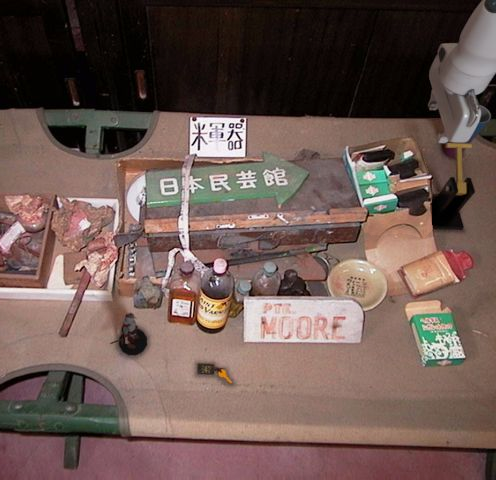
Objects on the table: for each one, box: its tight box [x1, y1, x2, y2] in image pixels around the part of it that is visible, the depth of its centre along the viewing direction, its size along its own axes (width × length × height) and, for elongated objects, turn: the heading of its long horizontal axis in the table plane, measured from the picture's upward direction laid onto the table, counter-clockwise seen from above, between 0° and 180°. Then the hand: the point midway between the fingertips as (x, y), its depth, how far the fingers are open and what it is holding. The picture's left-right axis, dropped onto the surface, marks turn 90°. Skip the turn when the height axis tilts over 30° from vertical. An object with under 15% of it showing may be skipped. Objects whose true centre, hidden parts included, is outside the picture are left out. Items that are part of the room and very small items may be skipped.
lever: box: [444, 143, 473, 195], centre depth 131 cm, size 13×6×2 cm, turn 177°
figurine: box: [109, 312, 148, 356], centre depth 115 cm, size 7×7×15 cm
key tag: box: [197, 363, 233, 384], centre depth 117 cm, size 8×3×1 cm, turn 73°
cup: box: [442, 104, 492, 159], centre depth 144 cm, size 7×7×15 cm
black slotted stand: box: [431, 176, 476, 231], centre depth 134 cm, size 10×9×13 cm
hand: (436, 123), depth 113 cm, fingers open, 8 cm apart
